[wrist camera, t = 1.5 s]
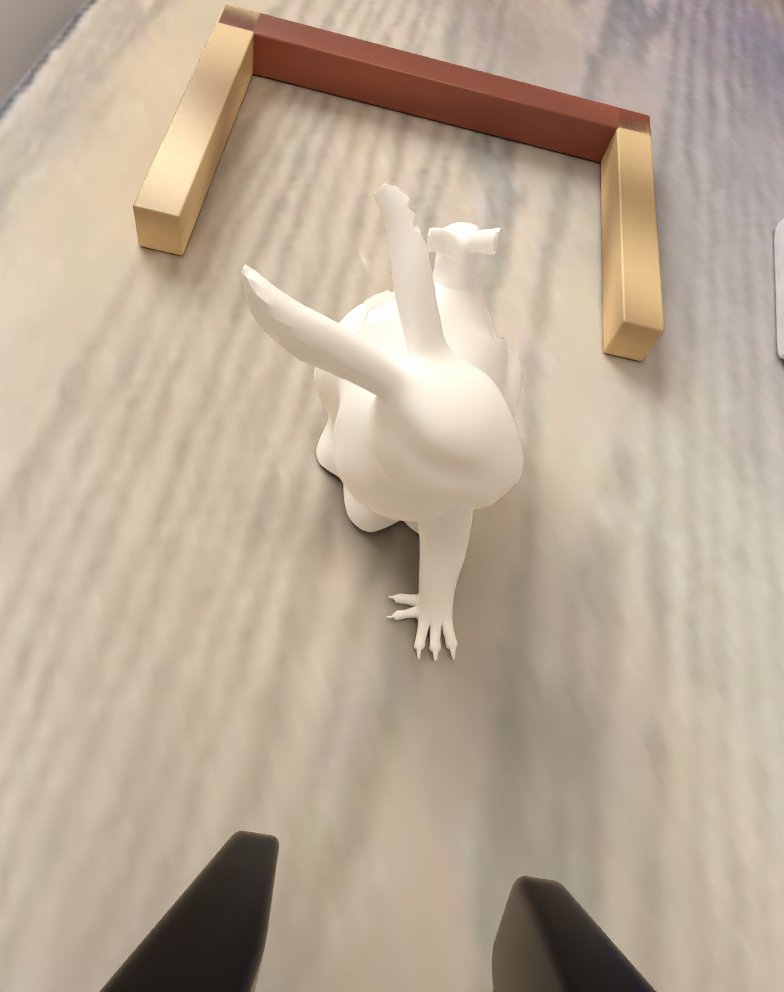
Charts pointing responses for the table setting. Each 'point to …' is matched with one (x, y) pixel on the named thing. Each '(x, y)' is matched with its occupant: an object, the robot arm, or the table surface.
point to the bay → (427, 93)
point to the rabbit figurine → (413, 398)
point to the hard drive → (779, 285)
